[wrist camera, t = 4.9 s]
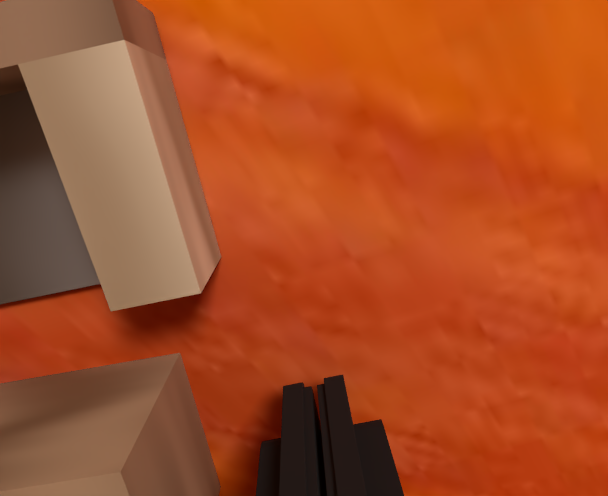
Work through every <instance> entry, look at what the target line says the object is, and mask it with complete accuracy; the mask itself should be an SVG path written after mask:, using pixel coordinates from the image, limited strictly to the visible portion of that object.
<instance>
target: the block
mask: <svg viewBox="0 0 608 496" xmlns="http://www.w3.org/2000/svg"><path fill="white" fill-rule="evenodd" d="M220 487H221V486H220V483H219V480H218V476H217V473H216V470H215V466H214V463H213V460H212V457H211V453H210V450H209V447H208V443H207V440H206V437H205V433H204V430H203V427H202V423H201V420H200V417H199V414H198V410H197V407H196V404H195V400H194V397H193V394H192V390H191V387H190V384H189V381H188V377H187V374H186V371H185V367H184V364H183V361H182V357H181V354H180V353H176V354H170V355H165V356H159V357H153V358H147V359H141V360H135V361H130V362H124V363H118V364H112V365H106V366H100V367H94V368H89V369H83V370H77V371H71V372H65V373H59V374H54V375H48V376H42V377H36V378H30V379H24V380H18V381H13V382H7V383H1V384H0V496H219V492H220Z"/></svg>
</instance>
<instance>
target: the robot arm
mask: <svg viewBox="0 0 608 496" xmlns="http://www.w3.org/2000/svg"><path fill="white" fill-rule="evenodd" d="M317 389H318V400H319V411H320V420H319V416H318V412H317V407H316V403H315V399H314V394H313V390H312V387H311V386H310V387H304V384H303V382H302V383H297V384H291V385H286V386H283V404H282V431H281V438H278V439H273V440H268V441H263V442H262V443H261V449H260V459H259V469H258V479H257V489H256V496H404V494H403V490H402V487H401V483H400V480H399V477H398V473H397V470H396V467H395V463H394V460H393V456H392V453H391V450H390V446H389V443H388V440H387V436H386V433H385V429H384V426H383V423H382V420H381V419H380V420H375V421H370V422H364V423H359V424H354V425H353V422H352V417H351V412H350V407H349V402H348V397H347V392H346V387H345V383H344V378H343V375H339V376H333V377H328V378H324V384H321V385H317ZM320 422H321V425H320Z"/></svg>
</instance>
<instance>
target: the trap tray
mask: <svg viewBox="0 0 608 496" xmlns="http://www.w3.org/2000/svg"><path fill="white" fill-rule="evenodd" d="M220 258H221V254H220V251H219V247H218V243H217V240H216V236H215V233H214V229H213V226H212V222H211V218H210V215H209V211H208V208H207V204H206V201H205V197H204V193H203V190H202V186H201V183H200V179H199V175H198V172H197V168H196V165H195V161H194V158H193V154H192V150H191V147H190V143H189V140H188V136H187V133H186V129H185V125H184V122H183V118H182V115H181V111H180V108H179V104H178V100H177V97H176V93H175V90H174V86H173V82H172V79H171V75H170V72H169V68H168V65H167V61H166V57H165V54H164V50H163V47H162V43H161V40H160V36H159V32H158V29H157V25H156V22H155V18H154V15H153V13H152V12H151V11H149V10H148V9H147V8H146V7H144V6H143V5H142V4H140V3H139V2H138V1H136V0H6V1H2V2H0V304H4V303H9V302H14V301H19V300H24V299H29V298H34V297H38V296H43V295H48V294H53V293H58V292H63V291H68V290H73V289H78V288H82V287H87V286H92V285H97V284H101V287H102V289H103V292H104V295H105V297H106V300H107V303H108V305H109V308H110V311H116V310H121V309H126V308H131V307H136V306H141V305H145V304H150V303H155V302H160V301H165V300H170V299H175V298H180V297H185V296H190V295H195V294H200V293H201V292H202V291H203V289H204V287H205V285H206V283H207V282H208V280H209V278H210V276H211V275H212V273H213V271H214V269H215V267H216V266H217V264H218V262H219V260H220Z"/></svg>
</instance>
